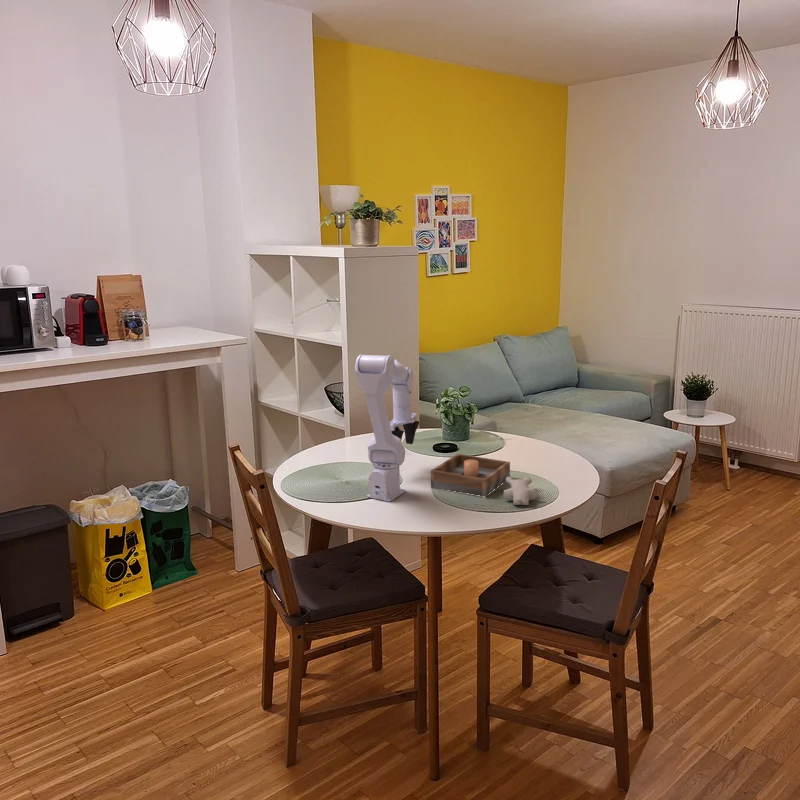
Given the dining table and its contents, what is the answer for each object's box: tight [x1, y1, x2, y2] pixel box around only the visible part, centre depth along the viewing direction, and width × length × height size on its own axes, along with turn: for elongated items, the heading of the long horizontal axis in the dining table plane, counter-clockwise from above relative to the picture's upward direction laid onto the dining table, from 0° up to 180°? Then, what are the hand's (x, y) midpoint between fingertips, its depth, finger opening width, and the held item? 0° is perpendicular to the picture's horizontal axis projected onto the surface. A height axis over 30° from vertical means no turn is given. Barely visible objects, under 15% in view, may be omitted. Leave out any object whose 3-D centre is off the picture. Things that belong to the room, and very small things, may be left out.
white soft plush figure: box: [503, 476, 538, 506], centre depth 210 cm, size 10×5×15 cm
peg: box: [464, 459, 478, 478], centre depth 222 cm, size 4×4×7 cm
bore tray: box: [430, 453, 511, 498], centre depth 223 cm, size 18×18×6 cm
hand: (403, 446), depth 230 cm, fingers open, 7 cm apart
